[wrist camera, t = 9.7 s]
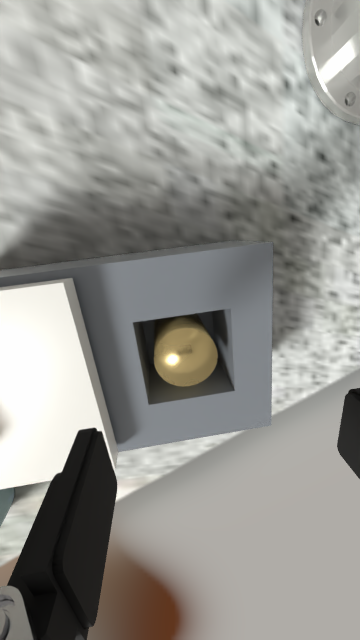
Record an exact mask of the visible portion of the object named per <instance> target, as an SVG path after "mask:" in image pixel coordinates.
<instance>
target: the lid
mask: <svg viewBox="0 0 360 640" xmlns="http://www.w3.org/2000/svg"><path fill="white" fill-rule="evenodd" d="M88 428H96V429H97V431H102V433H103V436H104V440H105V443H106V446H107V450H108V453H109V456H110V460H111V463H112V466H113V469H115V468H116V462H117V455H118V448H117V444H116V441H115V437H114V433H113V429H112V426H111V422H110V418H109V414H108V410H107V407H106V403H105V399H104V395H103V392H102V388H101V384H100V380H99V376H98V373H97V369H96V365H95V361H94V358H93V354H92V350H91V346H90V343H89V339H88V335H87V331H86V327H85V324H84V320H83V316H82V312H81V309H80V305H79V301H78V297H77V294H76V290H75V286H74V282H73V278H67V279H60V280H52V281H44V282H37V283H29V284H22V285H14V286H6V287H0V489H6V488H11V487H17V486H23V485H28V484H34V483H40V482H45V481H51V480H52V479H53V477H54V476H55V475H56V474H57V473H61V472H62V470H63V468H64V465H65V463H66V460H67V458H68V455H69V453H70V450H71V448H72V445H73V443H74V440H75V438H76V435H77V433H78V431H79V430H81V429H88Z"/></svg>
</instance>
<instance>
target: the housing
mask: <svg viewBox="0 0 360 640" xmlns="http://www.w3.org/2000/svg"><path fill="white" fill-rule="evenodd" d="M67 278H73V282H74V286H75V290H76V294H77V297H78V301H79V305H80V309H81V312H82V316H83V320H84V324H85V327H86V331H87V335H88V339H89V343H90V346H91V350H92V354H93V358H94V361H95V365H96V369H97V373H98V376H99V380H100V384H101V388H102V392H103V395H104V399H105V403H106V407H107V410H108V414H109V418H110V422H111V426H112V429H113V433H114V437H115V441H116V444H117V448H118V452H121V451H126V450H132V449H138V448H144V447H149V446H155V445H161V444H167V443H172V442H178V441H184V440H190V439H195V438H201V437H207V436H213V435H218V434H224V433H230V432H236V431H241V430H247V429H253V428H258V427H263V426H269V425H271V398H272V301H273V242H259V241H237V240H231V241H223V242H216V243H208V244H200V245H192V246H184V247H176V248H169V249H161V250H153V251H145V252H137V253H129V254H122V255H114V256H106V257H98V258H90V259H82V260H75V261H67V262H59V263H51V264H43V265H35V266H28V267H20V268H12V269H4V270H0V287H6V286H14V285H22V284H29V283H37V282H44V281H52V280H60V279H67ZM195 313H197V314H198V315H199V317H200V319H201V321H202V322H203V324H204V326H205V328H206V329H207V331H208V333H209V335H210V336H211V338H212V340H213V342H214V344H215V346H216V348H217V353H218V359H217V364H216V366H215V369H214V370H213V372H212V373H211V375H210V376H209V377H208V378H206V379H205V380H204V381H202V382H200V383H198V384H196V385H192V386H176V385H173V384H170V383H168V382H166V381H165V380H164V379H163V378H162V377H161V376H160V375H159V374H158V372H157V370H156V368H155V364H154V324H155V320H156V319H161V318H168V317H174V316H181V315H188V314H195Z"/></svg>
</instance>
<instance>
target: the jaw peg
mask: <svg viewBox="0 0 360 640" xmlns="http://www.w3.org/2000/svg"><path fill="white" fill-rule="evenodd" d="M217 359H218V353H217V348H216V346H215V344H214V342H213V340H212V338H211V336H210V335H209V333H208V331H207V329H206V328H205V326H204V324H203V322H202V321H201V319H200V317H199V315H198V314H197V313H195V314H188V315H181V316H174V317H168V318H161V319H156V320H155V324H154V364H155V368H156V370H157V372H158V374H159V375H160V376H161V377H162V378H163V379H164V380H165V381H166V382H168V383H170V384H173V385H176V386H192V385H196V384H198V383H200V382H202V381H204V380H205V379H206V378H208V377H209V376H210V375H211V373H212V372H213V370H214V369H215V366H216V364H217Z"/></svg>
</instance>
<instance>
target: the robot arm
mask: <svg viewBox="0 0 360 640" xmlns="http://www.w3.org/2000/svg"><path fill="white" fill-rule="evenodd" d="M302 42H303V56H304V60H305V65H306V70H307V74H308V77H309V79H310V82H311V84H312V86H313V89H314V91H315V93H316V94H317V96H318V97H319V99H320V100H321V102H322V103H323V105H324V106H326V107H327V108H328V109H329V110H330V111H331V112H332V113H333V114H334V115H336V116H337V117H339V118H341V119H342V120H344V121H347V122H350V123H354V124H357V125H360V0H306V3H305V8H304V13H303V27H302ZM337 447H338V451H339V453H340V455H341V456H342V457H343V459H344V460H345V461H346V463H347V464H348V465H349V466H350V468H351V469H352V470H353V471H354V472H355V474H356V475H357V476H358V478H359V479H360V388H357V389H351V390H349V392H348V394H347V395H346V396H345V400H344V406H343V413H342V419H341V425H340V431H339V437H338V444H337ZM116 493H117V480H116V476H115V473H114V470H113V466H112V463H111V460H110V456H109V453H108V450H107V446H106V443H105V440H104V436H103V433H102V431H97V429H96V428H88V429H81V430H79V431H78V433H77V435H76V438H75V440H74V443H73V445H72V448H71V450H70V453H69V455H68V458H67V460H66V463H65V465H64V468H63V470H62V472H61V473H57V474H56V475H55V476H54V477H53V479H52V481H51V483H50V486H49V488H48V490H47V493H46V495H45V498H44V500H43V502H42V505H41V507H40V509H39V512H38V514H37V516H36V519H35V521H34V523H33V526H32V528H31V530H30V533H29V535H28V538H27V540H26V542H25V545H24V547H23V549H22V552H21V554H20V556H19V559H18V562H17V563H16V566H15V568H14V570H13V573H12V575H11V578H10V580H9V582H8V585H7V586H2V587H0V640H87V634H88V629H89V627H92V626H94V623H95V621H96V617H97V610H98V605H99V599H100V593H101V586H102V580H103V574H104V568H105V562H106V555H107V549H108V542H109V536H110V530H111V524H112V518H113V512H114V506H115V499H116Z"/></svg>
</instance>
